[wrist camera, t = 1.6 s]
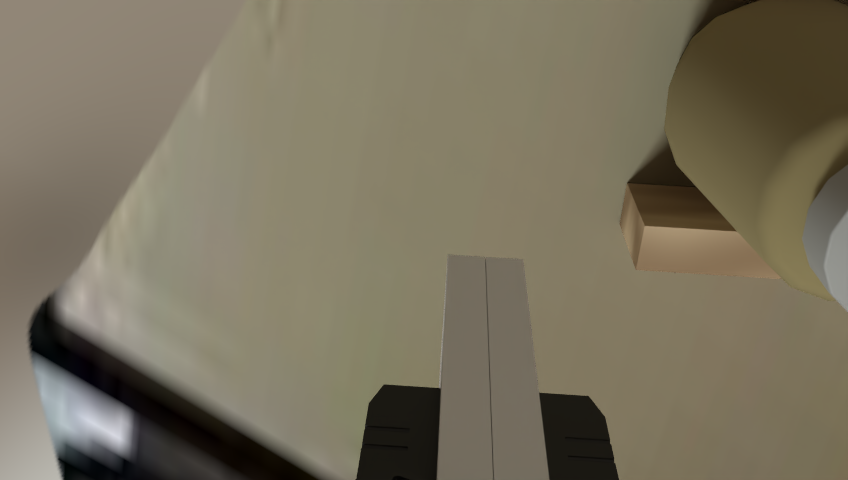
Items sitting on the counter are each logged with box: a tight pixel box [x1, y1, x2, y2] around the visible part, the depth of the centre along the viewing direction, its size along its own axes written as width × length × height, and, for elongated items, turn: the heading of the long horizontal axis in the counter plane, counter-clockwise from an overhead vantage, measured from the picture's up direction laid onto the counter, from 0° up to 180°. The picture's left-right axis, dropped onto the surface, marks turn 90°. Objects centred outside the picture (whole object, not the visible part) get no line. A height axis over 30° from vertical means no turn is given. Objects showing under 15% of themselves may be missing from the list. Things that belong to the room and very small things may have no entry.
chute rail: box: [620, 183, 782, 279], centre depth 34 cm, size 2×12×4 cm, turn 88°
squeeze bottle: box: [664, 0, 848, 312], centre depth 25 cm, size 8×8×18 cm
